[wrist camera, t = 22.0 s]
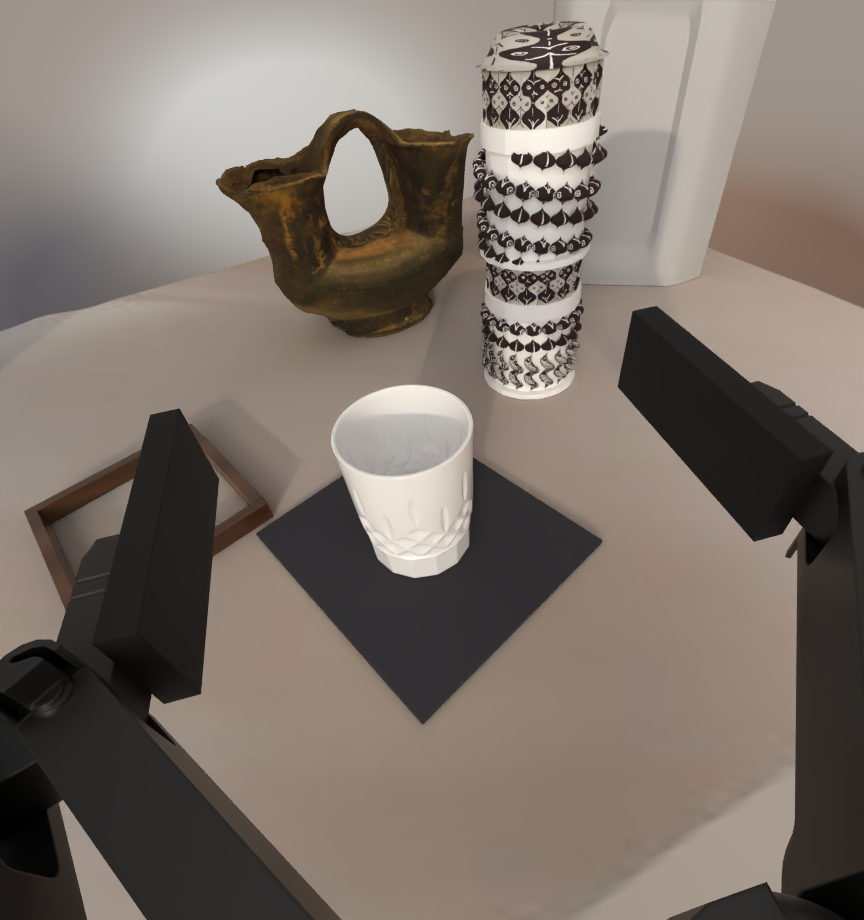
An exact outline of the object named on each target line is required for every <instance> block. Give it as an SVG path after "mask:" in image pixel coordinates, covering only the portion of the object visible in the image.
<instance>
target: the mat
mask: <svg viewBox="0 0 864 920" xmlns="http://www.w3.org/2000/svg"><path fill="white" fill-rule="evenodd" d="M256 534H257V536H258V537H259V538H260V539H261V541H262V542H263V543H264V544H265V545H266V546H267V547H268V549H269V550H270V551H271V552H272V553H273V554H274V555H275V557H276V558H277V559H278V560H279V561H280V562H281V563H282V565H283V566H284V567H285V568H286V569H287V570H288V571H289V573H290V574H291V575H292V576H293V577H294V578H295V579H296V581H297V582H298V583H299V584H300V585H301V586H302V587H303V589H304V590H305V591H306V592H307V593H308V594H309V595H310V597H311V598H312V599H313V600H314V601H315V602H316V603H317V605H318V606H319V607H320V608H321V609H322V610H323V611H324V613H325V614H326V615H327V616H328V617H329V618H330V619H331V621H332V622H333V623H334V624H335V625H336V626H337V627H338V629H339V630H340V631H341V632H342V633H343V634H344V635H345V637H346V638H347V639H348V640H349V641H350V642H351V643H352V645H353V646H354V647H355V648H356V649H357V650H358V651H359V653H360V654H361V655H362V656H363V657H364V658H365V659H366V661H367V662H368V663H369V664H370V665H371V666H372V667H373V669H374V670H375V671H376V672H377V673H378V674H379V675H380V677H381V678H382V679H383V680H384V681H385V682H386V683H387V685H388V686H389V687H390V688H391V689H392V690H393V691H394V693H395V694H396V695H397V696H398V697H399V698H400V699H401V701H402V702H403V703H404V704H405V705H406V706H407V707H408V709H409V710H410V711H411V712H412V713H413V714H414V715H415V717H416V718H417V719H418V720H419V721H420V722H421V723H422V724H424V723H425V722H426V721H427V720H428V719H429V718H430V717H431V716H432V715H433V714H434V713H435V712H436V711H437V710H438V709H439V708H440V707H441V705H442V704H443V703H444V702H445V701H446V700H447V699H448V698H449V697H450V696H451V695H452V694H453V693H454V692H455V691H456V690H457V689H458V688H459V687H460V686H461V685H462V684H463V683H464V682H465V681H466V680H467V679H468V678H469V677H470V676H471V675H472V674H473V673H474V672H475V671H476V670H477V669H478V668H479V667H480V666H481V665H482V664H483V663H484V662H485V661H486V660H487V659H488V658H489V657H490V656H491V655H492V654H493V653H494V652H495V651H496V650H497V649H498V648H499V647H500V646H501V645H502V644H503V643H504V641H505V640H506V639H507V638H508V637H509V636H510V635H511V634H512V633H513V632H514V631H515V630H516V629H517V628H518V627H519V626H520V625H521V624H522V623H523V622H524V621H525V620H526V619H527V618H528V617H529V616H530V615H531V614H532V613H533V612H534V611H535V610H536V609H537V608H538V607H539V606H540V605H541V604H542V603H543V602H544V601H545V600H546V599H547V598H548V597H549V596H550V595H551V594H552V593H553V592H554V591H555V590H556V589H557V588H558V587H559V586H560V585H561V584H562V583H563V582H564V581H565V580H566V578H567V577H568V576H569V575H570V574H571V573H572V572H573V571H574V570H575V569H576V568H577V567H578V566H579V565H580V564H581V563H582V562H583V561H584V560H585V559H586V558H587V557H588V556H589V555H590V554H591V553H592V552H593V551H594V550H595V549H596V548H597V547H598V546H599V545H600V544H601V543H602V540H601V539H599V538H598V537H596V536H595V535H593V534H592V533H590V532H588V531H587V530H585V529H584V528H582V527H581V526H579V525H577V524H576V523H574V522H573V521H571V520H570V519H568V518H567V517H565V516H563V515H562V514H560V513H559V512H557V511H556V510H554V509H552V508H551V507H549V506H548V505H546V504H545V503H543V502H542V501H540V500H538V499H537V498H535V497H534V496H532V495H531V494H529V493H527V492H526V491H524V490H523V489H521V488H520V487H518V486H517V485H515V484H513V483H512V482H510V481H509V480H507V479H506V478H504V477H502V476H501V475H499V474H498V473H496V472H495V471H493V470H492V469H490V468H488V467H487V466H485V465H484V464H482V463H481V462H479V461H477V460H476V459H474V458H473V499H472V513H471V516H470V540H469V547H468V548H467V550H466V551H465V553H464V554H463V556H462V557H461V559H460V560H459V561H458V563H457V564H455V565H453V566H452V567H450V568H448V569H447V570H445V571H443V572H442V573H440V574H438V575H432V576H425V577H419V578H412V577H409V576H405V575H401V574H397V573H393V572H392V571H391V570H390V569H388V568H387V567H386V566H385V565H384V564H383V563H381V562H380V561H379V560H378V558H377V556H376V553H375V550H374V548H373V545H372V542H371V540H370V538H369V535H368V534H367V532H366V531H365V529H364V527H363V525H362V522H361V520H360V518H359V516H358V514H357V511H356V509H355V506H354V503H353V501H352V498H351V496H350V493H349V490H348V488H347V485H346V483H345V480H344V477H343V476H342V477H340V478H339V479H337V480H336V481H334V482H333V483H331V484H330V485H328V486H327V487H325V488H324V489H322V490H321V491H319V492H318V493H316V494H315V495H313V496H312V497H310V498H309V499H307V500H306V501H304V502H303V503H301V504H300V505H298V506H296V507H295V508H293V509H292V510H290V511H289V512H287V513H286V514H284V515H283V516H281V517H280V518H278V519H277V520H275V521H274V522H272V523H271V524H269V525H268V526H266V527H265V528H263V529H262V530H260V531H259V532H257V533H256Z"/></svg>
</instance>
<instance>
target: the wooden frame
mask: <svg viewBox="0 0 864 920" xmlns="http://www.w3.org/2000/svg"><path fill="white" fill-rule="evenodd" d="M189 426H190V428H191V430H192V432H193V433H194V435H195V437H196V439H197V441H198V442H199V444H200V446H201V448H202V450H203V451H204V453H205V455H206V457H207V459H208V460H209V462H210V463H211V464H212V466H213V467H214V468H215V469H216V470H217V471H218V472H219V473H220V474H221V475H222V476H223V478H224V479H225V480H226V481H227V482H228V483H229V484H230V485H231V486H232V487H233V488H234V490H235V491H236V492H237V493H238V494H239V495H240V496H241V497H242V498H243V499H244V500H245V502H246V503H247V504H248V505H249V506H248V507H246V508H244V509H243V510H241V511H240V512H238V513H237V514H235V515H233V516H232V517H230V518H229V519H227V520H226V521H224V522H222V523H221V524H219V525H218V526H216V527H215V532H214V543H213V555H212V556H214V555H215V554H217V553H218V552H220V551H222V550H223V549H225V548H226V547H228V546H229V545H231V544H232V543H234V542H235V541H237V540H238V539H240V538H241V537H243V536H244V535H246V534H247V533H249V532H250V531H252V530H253V529H255V528H256V527H258V526H259V525H261V524H262V523H264V522H265V521H267V520H268V519H270V518H271V517H273V514H272V512H271V510H270V508H269V506H268V504H267V502H266V501H265V500H264V499H263V498H262V497H261V496H260V495H259V494H258V493H257V492H256V491H255V490H254V489H253V487H252V486H251V485H250V484H249V483H248V482H247V481H246V480H245V479H244V478H243V477H242V476H241V475H240V474H239V473H238V472H237V471H236V470H235V469H234V468H233V467H232V466H231V465H230V464H229V462H228V461H227V460H226V459H225V458H224V457H223V456H222V455H221V454H220V453H219V452H218V451H217V450H216V449H215V448H214V447H213V446H212V445H211V444H210V443H209V442H208V441H207V440H206V439H205V437H204V436H203V435H202V434H201V433H200V432H199V431H198V430H197V429H196V428H195V427H194V426H193V425H192V424H189ZM140 453H141V450H140V451H138V452H136V453H134V454H132V455H130V456H128V457H126V458H124V459H122V460H121V461H119V462H117V463H115V464H113V465H111V466H109V467H107V468H105V469H103V470H102V471H100V472H98V473H96V474H94V475H92V476H90V477H88V478H86V479H84V480H83V481H81V482H79V483H77V484H75V485H73V486H71V487H69V488H67V489H65V490H64V491H62V492H60V493H58V494H56V495H54V496H52V497H50V498H48V499H46V500H45V501H43V502H41V503H39V504H37V505H35V506H33V507H31V508H29V509H27V510H26V511H24V512H25V515H26V517H27V519H28V522H29V524H30V527H31V529H32V531H33V534H34V536H35V538H36V541H37V543H38V546H39V548H40V550H41V553H42V555H43V557H44V560H45V562H46V565H47V567H48V569H49V572H50V574H51V576H52V579H53V581H54V584H55V586H56V588H57V591H58V593H59V595H60V598H61V600H62V602H63V605H64V607H65V610H66V609H67V606H68V603H69V602H70V601H71V598H70V597H71V593H72V590H73V587H74V585H75V584H76V581H75V580H76V579H75V577H74V575H73V572H72V570H71V568H70V566H69V564H68V562H67V560H66V557H65V555H64V553H63V551H62V549H61V547H60V544H59V542H58V540H57V538H56V536H55V534H54V532H53V529H52V527H51V525H50V523H52V522H54V521H56V520H57V519H59V518H61V517H63V516H65V515H66V514H68V513H70V512H72V511H74V510H76V509H77V508H79V507H81V506H83V505H85V504H87V503H88V502H90V501H92V500H94V499H96V498H98V497H99V496H101V495H103V494H105V493H107V492H109V491H110V490H112V489H114V488H116V487H118V486H119V485H121V484H123V483H125V482H127V481H129V480H130V479H132V478H134V477H135V473H136V469H137V465H138V461H139V457H140Z"/></svg>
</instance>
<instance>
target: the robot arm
mask: <svg viewBox="0 0 864 920" xmlns="http://www.w3.org/2000/svg"><path fill="white" fill-rule="evenodd" d="M618 388H619V389H620V390H621V391H622V392H623V393H624V395H625V396H626V397H627V398H628V399H629V400H630V401H631V403H632V404H633V405H634V406H635V407H636V408H637V409H638V410H639V412H640V413H641V414H642V415H643V416H644V417H645V418H646V420H647V421H648V422H649V423H650V424H651V425H652V426H653V427H654V429H655V430H656V431H657V432H658V433H659V434H660V435H661V437H662V438H663V439H664V440H665V441H666V442H667V443H668V445H669V446H670V447H671V448H672V449H673V450H674V451H675V452H676V454H677V455H678V456H679V457H680V458H681V459H682V460H683V462H684V463H685V464H686V465H687V466H688V467H689V468H690V470H691V471H692V472H693V473H694V474H695V475H696V476H697V477H698V479H699V480H700V481H701V482H702V483H703V484H704V485H705V487H706V488H707V489H708V490H709V491H710V492H711V493H712V495H713V496H714V497H715V498H716V499H717V500H718V501H719V502H720V504H721V505H722V506H723V507H724V508H725V509H726V510H727V512H728V513H729V514H730V515H731V516H732V517H733V518H734V519H735V521H736V522H737V523H738V524H739V525H740V526H741V527H742V529H743V530H744V531H745V532H746V533H747V534H748V535H749V537H750V538H751V539H752V540H753V541H758V540H762V539H765V538H769V537H773V536H776V535H780V534H783V532H784V530H785V529H786V527H787V526H788V524H789V522H790V521H791V519H792V518H794V519H795V520H796V521H797V522H798V523H799V524H800V525H801V526H802V527H803V528H802V529H801V531H800V532H799V534H798V535H797V537H796V538H795V540H794V541H793V543H792V544H791V546H790V547H789V549H788V550H787V553H786V556H785V557H787V558H791V557H792V555H793V554H794V552H795V551H796V550H798V555H797V661H796V767H795V824H794V830H793V834H792V836H791V839H790V841H789V843H788V846H787V848H786V851H785V855H784V860H783V868H782V889H781V890H782V891H781V893H777V892H772V891H771V889H770V887H769V885H768V884H767V882H766V883H763V884H760V885H757V886H755V887H752V888H749V889H746V890H743V891H740V892H738V893H735V894H732V895H729V896H727V897H724V898H721V899H718V900H715V901H712V902H710V903H707V904H704V905H702V906H699V907H696V908H694V909H691V910H689V911H686V912H683V913H681V914H678V915H676V916H673V917H670V918H669V919H667V920H864V452H863V453H859V452H857V451H856V450H855V449H853V448H852V447H851V446H849V445H848V444H847V443H846V442H844V441H843V440H842V439H841V438H839V437H838V436H837V435H835V434H834V433H833V432H832V431H830V430H829V429H828V428H827V427H825V426H824V425H823V424H822V423H820V422H819V421H818V420H816V419H815V418H814V417H813V416H809V415H808V412H806V411H805V410H804V409H803V408H801V407H800V406H799V405H798V406H796V405H795V402H794V401H792V400H791V399H790V398H789V397H787V396H786V395H785V394H783V393H782V392H781V391H780V390H778V389H775V388H773V387H771V386H769V385H766V384H764V383H762V382H760V381H756V382H752V383H750V382H749V381H747V380H746V379H745V378H744V377H742V376H741V375H740V374H739V373H738V372H736V371H735V370H734V369H733V368H732V367H730V366H729V365H728V364H727V363H725V362H724V361H723V360H722V359H721V358H719V357H718V356H717V355H716V354H714V353H713V352H712V351H711V350H710V349H708V348H707V347H706V346H705V345H703V344H702V343H701V342H700V341H699V340H697V339H696V338H695V337H694V336H692V335H691V334H690V333H689V332H688V331H686V330H685V329H684V328H683V327H682V326H680V325H679V324H678V323H677V322H675V321H674V320H673V319H672V318H671V317H669V316H668V315H667V314H666V313H664V312H663V311H662V310H661V309H660V308H658V307H657V306H655V307H650V308H645V309H641V310H636V311H633V313H632V318H631V323H630V328H629V333H628V338H627V343H626V348H625V353H624V358H623V363H622V368H621V373H620V378H619V383H618ZM218 484H219V478H218V477H217V475H216V473H215V471H214V469H213V468H212V466H211V464H210V462H209V460H208V459H207V457H206V455H205V453H204V451H203V450H202V448H201V446H200V444H199V442H198V441H197V439H196V437H195V435H194V433H193V432H192V430H191V428H190V426H189V424H188V423H187V421H186V419H185V417H184V415H183V414H182V412H181V410H180V409H175V410H171V411H166V412H161V413H157V414H152V415H150V418H149V422H148V426H147V430H146V434H145V438H144V441H143V445H142V449H141V453H140V457H139V461H138V465H137V469H136V473H135V477H134V481H133V485H132V489H131V492H130V496H129V500H128V504H127V508H126V512H125V516H124V520H123V524H122V528H121V532H120V534H118V535H114V536H110V537H106V538H102V539H97V540H96V541H95V543H94V544H93V546H92V547H91V548H90V550H89V551H88V552H87V554H86V555H85V556H84V558H83V559H82V561H81V564H80V567H79V571H78V574H77V577H76V580H75V581H76V584H75V585H74V587H73V590H72V593H71V597H70V598H71V601H70V602H69V603H68V606H67V609H66V613H65V616H64V619H63V622H62V626H61V629H60V632H59V635H58V639H57V642H54V641H53V640H35V641H32V642H29V643H26V644H23V645H21V646H19V647H18V648H16V649H15V650H13V651H11V652H10V653H8V654H7V655H5V656H4V657H3V658H2V659H1V660H0V920H87V917H86V913H85V909H84V905H83V901H82V897H81V893H80V888H79V884H78V880H77V876H76V872H75V868H74V864H73V860H72V856H71V852H70V848H69V843H68V839H67V835H66V831H65V827H64V823H63V819H62V815H61V811H60V807H59V802H60V801H62V800H64V802H65V803H66V804H67V806H68V807H69V809H70V810H71V812H72V813H73V814H74V816H75V817H76V819H77V820H78V822H79V823H80V825H81V826H82V827H83V829H84V830H85V832H86V833H87V835H88V836H89V837H90V839H91V840H92V842H93V843H94V845H95V846H96V848H97V849H98V850H99V852H100V853H101V855H102V856H103V858H104V859H105V860H106V862H107V863H108V865H109V866H110V868H111V869H112V871H113V872H114V873H115V875H116V876H117V878H118V879H119V881H120V882H121V883H122V885H123V886H124V888H125V889H126V891H127V892H128V893H129V895H130V896H131V898H132V899H133V901H134V902H135V904H136V905H137V906H138V908H139V909H140V911H141V912H142V914H143V915H144V916H145V918H146V919H147V920H341V919H340V917H339V916H338V915H337V914H336V913H335V912H334V911H333V910H332V909H331V908H330V907H329V906H328V904H327V903H326V902H325V901H324V900H323V899H322V898H321V897H320V896H319V895H318V894H317V893H316V892H315V890H314V889H313V888H312V887H311V886H310V885H309V884H308V883H307V882H306V881H305V880H304V879H303V877H302V876H301V875H300V874H299V873H298V872H297V871H296V870H295V869H294V868H293V867H292V866H291V865H290V863H289V862H288V861H287V860H286V859H285V858H284V857H283V856H282V855H281V854H280V853H279V852H278V850H277V849H276V848H275V847H274V846H273V845H272V844H271V843H270V842H269V841H268V840H267V839H266V838H265V836H264V835H263V834H262V833H261V832H260V831H259V830H258V829H257V828H256V827H255V826H254V825H253V823H252V822H251V821H250V820H249V819H248V818H247V817H246V816H245V815H244V814H243V813H242V812H241V811H240V809H239V808H238V807H237V806H236V805H235V804H234V803H233V802H232V801H231V800H230V799H229V798H228V796H227V795H226V794H225V793H224V792H223V791H222V790H221V789H220V788H219V787H218V786H217V785H216V784H215V782H214V781H213V780H212V779H211V778H210V777H209V776H208V775H207V774H206V773H205V772H204V771H203V769H202V768H201V767H200V766H199V765H198V764H197V763H196V762H195V761H194V760H193V759H192V758H191V757H190V755H189V754H188V753H187V752H186V751H185V750H184V749H183V748H182V747H181V746H180V745H179V744H178V742H177V741H176V740H175V739H174V738H173V737H172V736H171V735H170V734H169V733H168V732H167V731H166V729H165V728H164V727H163V726H162V725H161V724H160V723H159V722H158V721H157V720H156V719H155V718H154V717H153V716H152V715H151V714H149V707H150V700H151V694H153V695H154V696H155V697H156V698H157V699H159V700H160V701H161V702H162V703H163V704H166V703H170V702H173V701H177V700H181V699H184V698H188V697H191V696H195V695H199V694H201V686H202V674H203V662H204V651H205V639H206V627H207V615H208V603H209V591H210V579H211V567H212V555H213V543H214V532H215V520H216V508H217V496H218Z"/></svg>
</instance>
